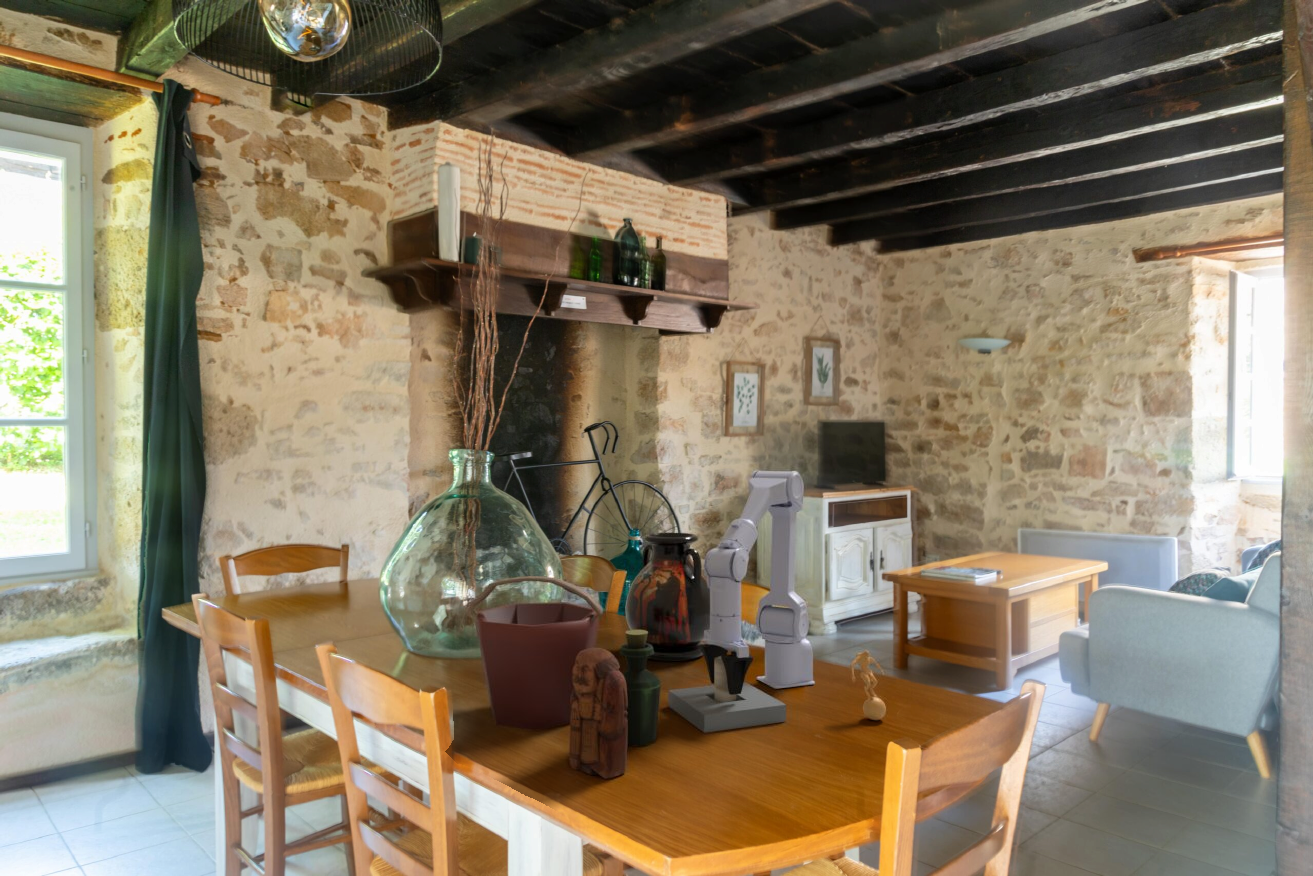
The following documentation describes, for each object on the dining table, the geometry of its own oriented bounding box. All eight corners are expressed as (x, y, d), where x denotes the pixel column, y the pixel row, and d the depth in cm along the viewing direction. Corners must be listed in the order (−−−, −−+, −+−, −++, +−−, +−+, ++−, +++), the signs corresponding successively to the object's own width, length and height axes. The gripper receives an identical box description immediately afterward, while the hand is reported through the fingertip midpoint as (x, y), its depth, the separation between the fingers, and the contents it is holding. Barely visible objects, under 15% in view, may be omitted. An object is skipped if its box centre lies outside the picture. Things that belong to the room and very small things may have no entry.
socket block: (744, 697, 169) (744, 681, 169) (786, 721, 154) (786, 704, 154) (668, 706, 163) (668, 690, 163) (704, 732, 148) (704, 715, 148)
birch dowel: (730, 709, 161) (730, 655, 161) (740, 715, 157) (740, 660, 157) (710, 712, 159) (710, 657, 159) (720, 718, 156) (720, 662, 156)
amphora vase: (606, 653, 204) (606, 534, 204) (672, 639, 218) (672, 528, 218) (668, 671, 188) (668, 542, 188) (736, 655, 202) (735, 535, 203)
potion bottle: (665, 733, 148) (665, 628, 148) (655, 750, 140) (655, 638, 140) (619, 730, 149) (619, 626, 149) (606, 746, 141) (606, 636, 141)
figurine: (867, 727, 151) (867, 658, 151) (841, 718, 156) (841, 651, 156) (898, 718, 156) (898, 651, 156) (872, 709, 161) (872, 645, 161)
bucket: (445, 724, 153) (445, 582, 153) (511, 690, 173) (511, 566, 173) (569, 741, 144) (569, 591, 144) (622, 704, 164) (622, 572, 164)
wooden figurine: (555, 762, 134) (555, 646, 134) (586, 752, 139) (586, 640, 139) (606, 783, 126) (606, 660, 126) (637, 772, 130) (637, 652, 131)
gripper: (689, 608, 164) (689, 680, 164) (723, 623, 150) (723, 701, 150) (723, 605, 166) (723, 676, 166) (759, 620, 153) (759, 697, 153)
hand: (725, 688), depth 158 cm, fingers open, 7 cm apart
